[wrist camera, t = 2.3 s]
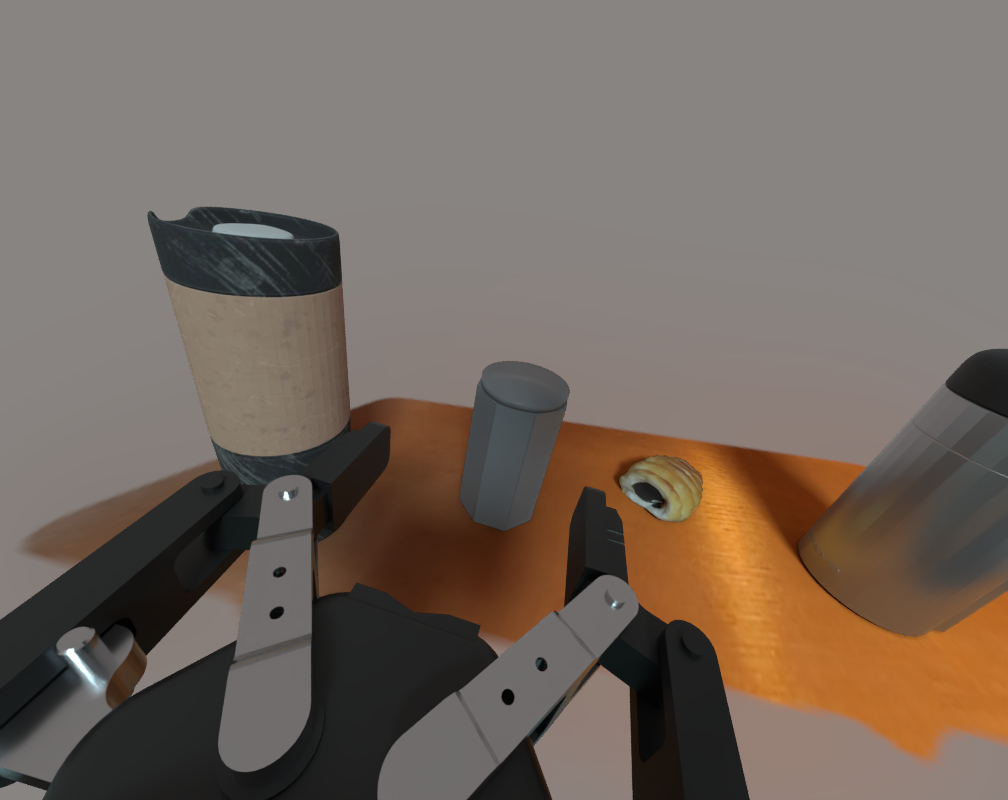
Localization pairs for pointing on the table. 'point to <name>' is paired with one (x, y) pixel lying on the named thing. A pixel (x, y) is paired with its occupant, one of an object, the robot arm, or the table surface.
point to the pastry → (664, 487)
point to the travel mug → (260, 334)
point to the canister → (511, 442)
